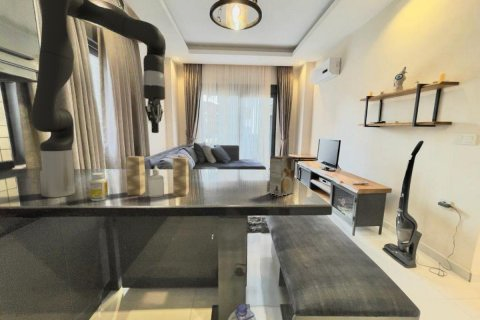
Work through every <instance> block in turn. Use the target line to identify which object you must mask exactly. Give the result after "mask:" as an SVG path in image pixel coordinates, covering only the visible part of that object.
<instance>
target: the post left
mask: <svg viewBox="0 0 480 320" xmlns="http://www.w3.org/2000/svg"><path fill="white" fill-rule="evenodd" d="M125 164H126V165H125V166H126V167H125V168H126V187H127V188H126V189H127V196H141V195H143V194H145V193H146V172H145V167H146V166H145V156H143V155H131V156H130V155H129V156H126V157H125Z"/></svg>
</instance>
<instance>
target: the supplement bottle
mask: <svg viewBox="0 0 480 320" xmlns="http://www.w3.org/2000/svg"><path fill="white" fill-rule="evenodd" d="M91 178H92V179H91V180H90V181H89V186H90V189H89V190H90V200H91V201H93V202H101V201H106V200H107V199H108V198H109V191H108V189H109V188H108V187H109V186H108V179H107V178H106V173H105V172H93V173H91Z"/></svg>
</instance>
